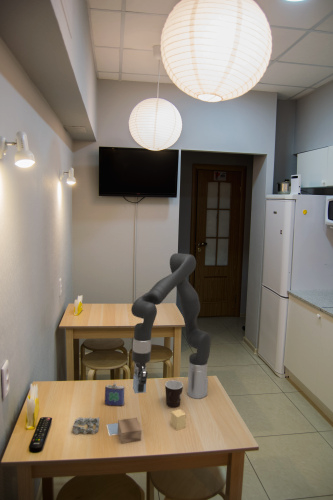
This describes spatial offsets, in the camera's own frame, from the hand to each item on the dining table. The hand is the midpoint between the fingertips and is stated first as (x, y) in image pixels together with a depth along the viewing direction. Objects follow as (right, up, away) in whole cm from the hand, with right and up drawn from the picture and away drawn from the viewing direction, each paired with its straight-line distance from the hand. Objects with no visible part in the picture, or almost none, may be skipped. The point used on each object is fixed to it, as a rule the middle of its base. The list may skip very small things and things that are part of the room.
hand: (139, 388), depth 148 cm
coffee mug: (+13, -17, +22) cm, 31 cm away
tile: (-10, -18, +3) cm, 21 cm away
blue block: (0, -1, 0) cm, 1 cm away
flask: (-14, -16, +21) cm, 30 cm away
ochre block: (+16, -19, +7) cm, 26 cm away
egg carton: (-22, -18, +2) cm, 29 cm away
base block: (-4, -19, -2) cm, 19 cm away
